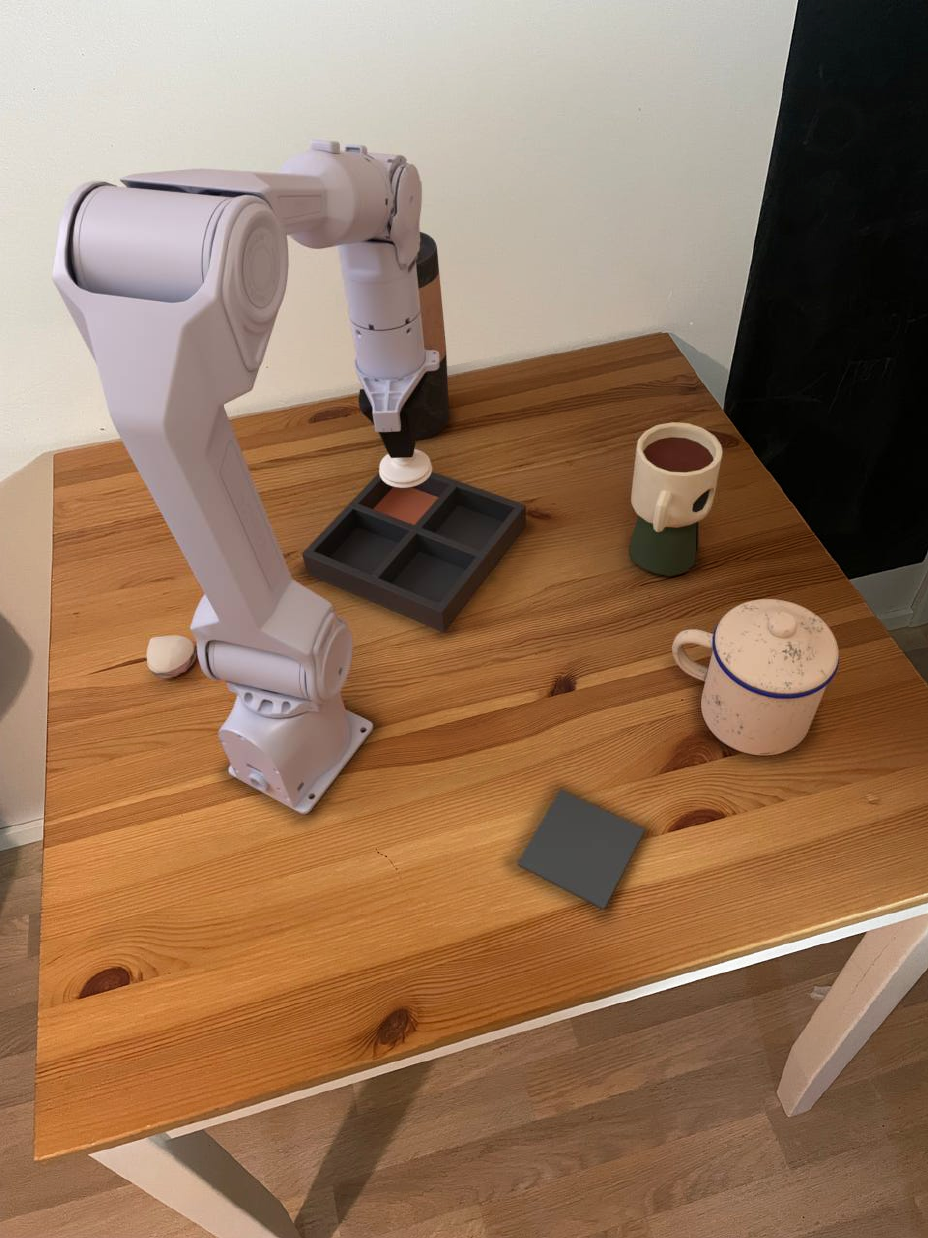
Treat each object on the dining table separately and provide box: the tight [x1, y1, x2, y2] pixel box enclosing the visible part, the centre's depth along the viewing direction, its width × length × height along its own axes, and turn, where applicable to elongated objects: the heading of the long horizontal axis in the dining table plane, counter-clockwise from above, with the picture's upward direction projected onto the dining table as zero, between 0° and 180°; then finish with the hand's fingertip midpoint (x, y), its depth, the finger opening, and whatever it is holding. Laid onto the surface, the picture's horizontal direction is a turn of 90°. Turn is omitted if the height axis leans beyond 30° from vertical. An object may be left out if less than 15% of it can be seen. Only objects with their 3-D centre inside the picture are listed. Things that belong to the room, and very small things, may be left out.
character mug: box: [628, 421, 723, 577], centre depth 82 cm, size 11×7×13 cm, turn 158°
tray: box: [301, 471, 527, 633], centre depth 88 cm, size 15×15×3 cm
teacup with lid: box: [671, 598, 840, 756], centre depth 71 cm, size 12×9×12 cm
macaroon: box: [146, 634, 198, 679], centre depth 81 cm, size 4×5×2 cm
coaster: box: [516, 789, 646, 911], centre depth 68 cm, size 7×7×1 cm
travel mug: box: [415, 231, 450, 441], centre depth 95 cm, size 8×8×20 cm
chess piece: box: [378, 448, 433, 488], centre depth 82 cm, size 5×5×10 cm
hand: (402, 446), depth 84 cm, fingers closed on chess piece
